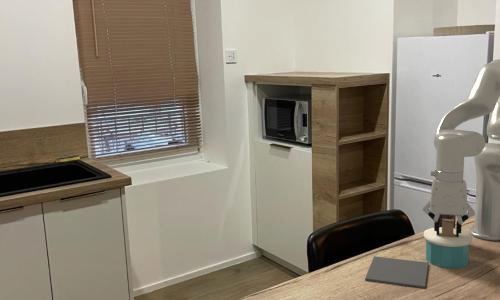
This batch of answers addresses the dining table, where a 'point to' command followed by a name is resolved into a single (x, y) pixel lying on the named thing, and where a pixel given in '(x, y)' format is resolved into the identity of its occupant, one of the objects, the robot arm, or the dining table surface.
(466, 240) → the lid
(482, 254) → the dining table surface
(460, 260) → the bowl
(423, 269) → the mat
